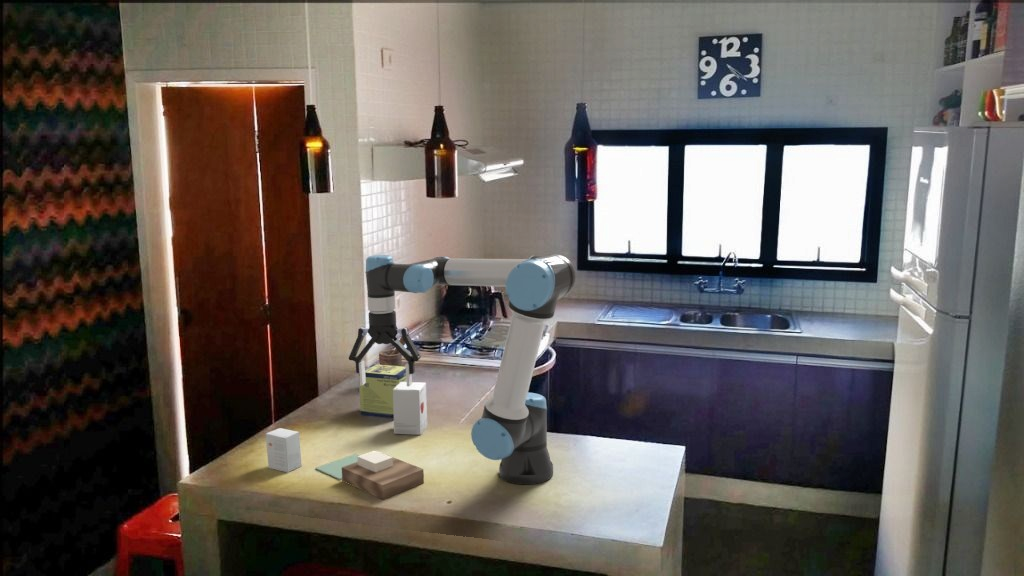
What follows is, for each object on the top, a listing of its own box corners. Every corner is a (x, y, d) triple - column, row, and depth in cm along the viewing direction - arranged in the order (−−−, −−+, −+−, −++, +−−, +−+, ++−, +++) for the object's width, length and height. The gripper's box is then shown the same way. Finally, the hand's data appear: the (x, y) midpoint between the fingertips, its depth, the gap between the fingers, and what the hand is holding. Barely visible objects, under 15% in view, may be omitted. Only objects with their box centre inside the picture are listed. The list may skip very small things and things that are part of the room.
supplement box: (420, 435, 261) (419, 390, 258) (393, 434, 262) (391, 389, 260) (428, 425, 270) (426, 381, 267) (401, 424, 271) (400, 381, 268)
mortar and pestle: (401, 379, 323) (399, 329, 320) (413, 383, 317) (412, 333, 313) (376, 385, 316) (373, 334, 312) (388, 390, 309) (386, 338, 306)
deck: (423, 482, 224) (423, 469, 224) (383, 499, 214) (382, 485, 214) (382, 466, 237) (382, 452, 236) (342, 481, 226) (341, 467, 226)
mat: (380, 465, 237) (380, 463, 237) (340, 480, 227) (340, 478, 227) (355, 455, 245) (355, 453, 245) (315, 469, 235) (315, 467, 235)
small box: (302, 466, 237) (299, 431, 236) (287, 473, 233) (285, 437, 231) (282, 461, 241) (279, 427, 240) (267, 467, 237) (265, 433, 235)
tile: (393, 465, 226) (392, 457, 226) (375, 472, 222) (375, 463, 221) (375, 458, 232) (374, 450, 231) (357, 464, 227) (357, 456, 227)
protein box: (401, 419, 276) (399, 374, 274) (359, 415, 281) (357, 371, 278) (414, 409, 286) (412, 366, 283) (373, 406, 291) (371, 363, 288)
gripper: (429, 308, 230) (432, 381, 233) (343, 308, 234) (348, 380, 237) (421, 313, 222) (425, 389, 226) (334, 313, 226) (339, 387, 230)
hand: (386, 384), depth 232 cm, fingers open, 13 cm apart
